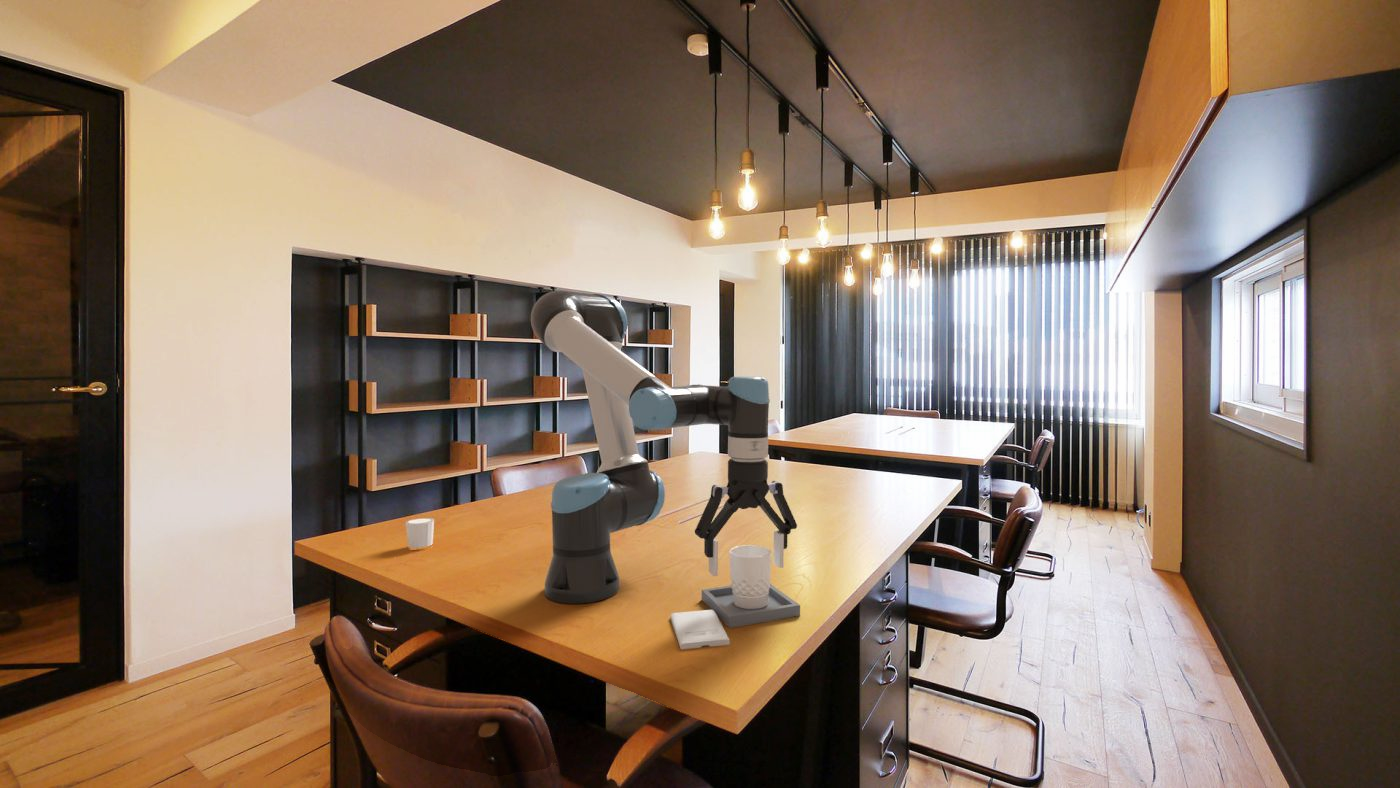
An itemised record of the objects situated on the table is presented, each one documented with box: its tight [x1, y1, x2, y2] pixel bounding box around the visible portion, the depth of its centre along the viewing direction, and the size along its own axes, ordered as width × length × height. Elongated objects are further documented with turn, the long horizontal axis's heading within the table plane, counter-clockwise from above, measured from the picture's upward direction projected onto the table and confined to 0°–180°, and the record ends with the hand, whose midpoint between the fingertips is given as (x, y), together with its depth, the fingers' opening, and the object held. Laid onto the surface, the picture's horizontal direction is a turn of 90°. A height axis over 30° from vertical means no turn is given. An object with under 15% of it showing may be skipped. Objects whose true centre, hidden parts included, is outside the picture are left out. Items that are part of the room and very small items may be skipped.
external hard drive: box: [670, 609, 731, 650], centre depth 105 cm, size 2×8×12 cm
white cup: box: [728, 544, 772, 609], centre depth 115 cm, size 8×8×10 cm
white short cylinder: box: [405, 517, 435, 548], centre depth 157 cm, size 7×7×7 cm
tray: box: [701, 583, 801, 629], centre depth 115 cm, size 14×14×2 cm
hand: (746, 569), depth 115 cm, fingers open, 13 cm apart
